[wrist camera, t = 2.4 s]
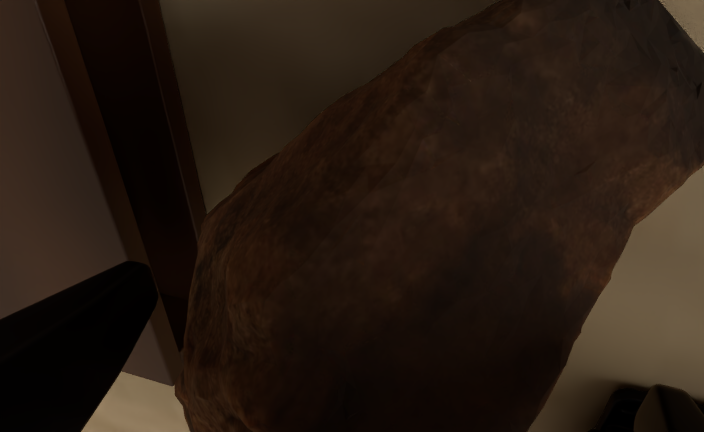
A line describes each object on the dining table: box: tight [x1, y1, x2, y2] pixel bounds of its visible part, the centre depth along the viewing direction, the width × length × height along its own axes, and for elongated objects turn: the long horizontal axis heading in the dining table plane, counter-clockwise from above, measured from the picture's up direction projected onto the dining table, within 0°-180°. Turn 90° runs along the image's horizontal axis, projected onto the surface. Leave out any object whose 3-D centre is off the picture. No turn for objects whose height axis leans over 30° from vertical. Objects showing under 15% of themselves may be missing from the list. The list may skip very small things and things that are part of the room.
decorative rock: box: [175, 0, 704, 432], centre depth 10 cm, size 12×6×11 cm, turn 130°
